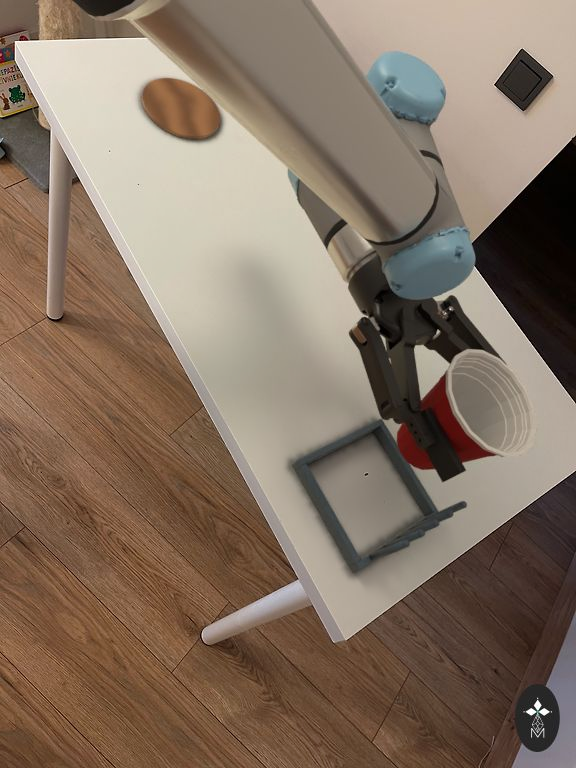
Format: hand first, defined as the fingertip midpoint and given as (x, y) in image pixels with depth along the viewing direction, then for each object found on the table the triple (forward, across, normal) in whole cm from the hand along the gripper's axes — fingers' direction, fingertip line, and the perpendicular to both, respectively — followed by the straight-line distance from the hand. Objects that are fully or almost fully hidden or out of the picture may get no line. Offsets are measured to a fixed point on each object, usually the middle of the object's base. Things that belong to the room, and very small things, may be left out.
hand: (488, 460), depth 57 cm
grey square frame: (-3, +1, -20) cm, 20 cm away
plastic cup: (-5, 0, -8) cm, 9 cm away
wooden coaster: (-67, -1, -20) cm, 70 cm away
